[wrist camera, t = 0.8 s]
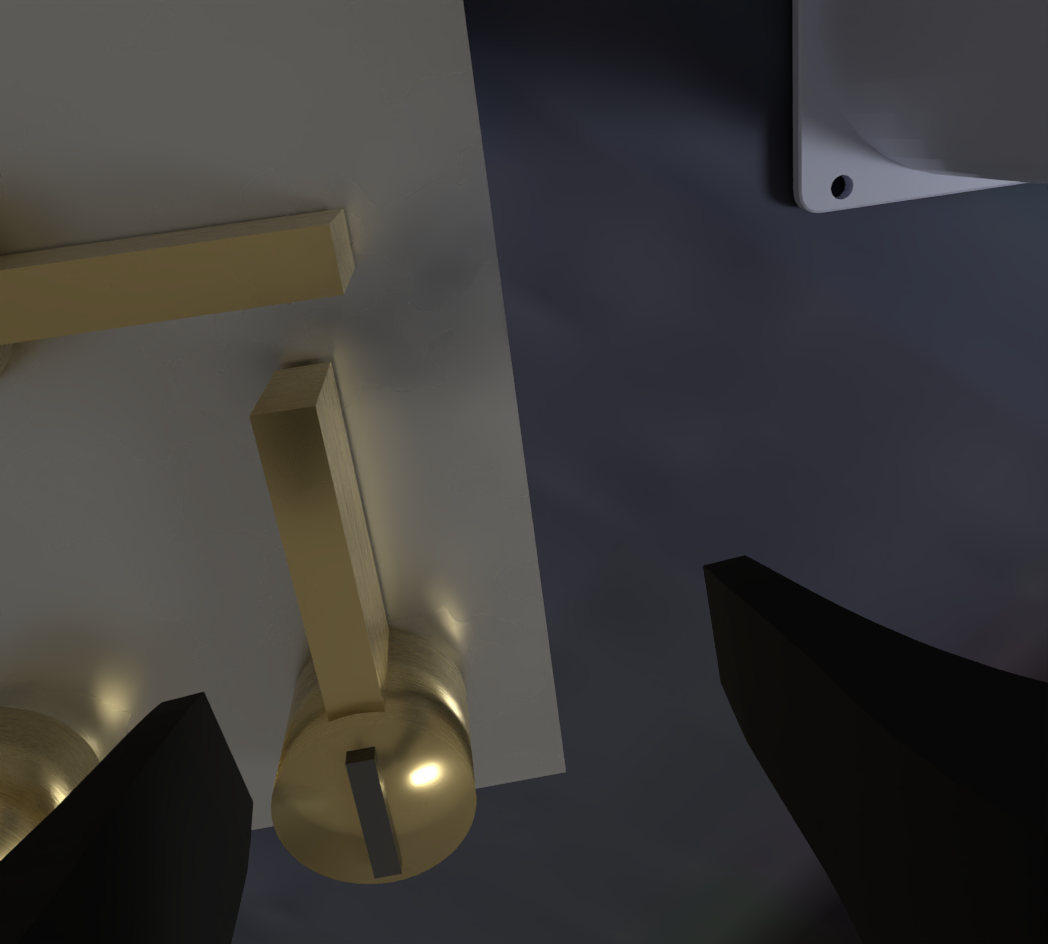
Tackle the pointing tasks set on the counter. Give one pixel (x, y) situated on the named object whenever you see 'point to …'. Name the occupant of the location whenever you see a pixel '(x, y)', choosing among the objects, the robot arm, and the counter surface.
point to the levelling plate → (252, 380)
